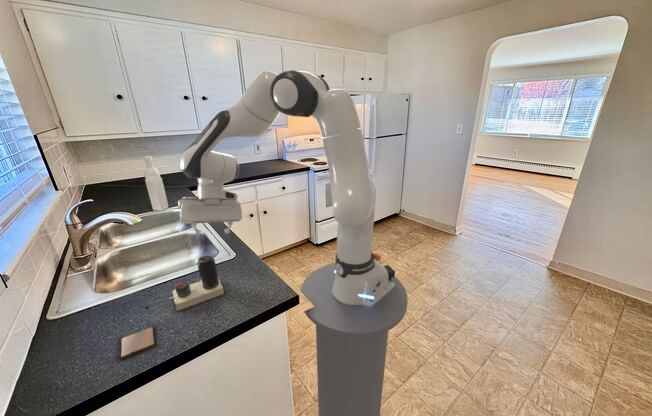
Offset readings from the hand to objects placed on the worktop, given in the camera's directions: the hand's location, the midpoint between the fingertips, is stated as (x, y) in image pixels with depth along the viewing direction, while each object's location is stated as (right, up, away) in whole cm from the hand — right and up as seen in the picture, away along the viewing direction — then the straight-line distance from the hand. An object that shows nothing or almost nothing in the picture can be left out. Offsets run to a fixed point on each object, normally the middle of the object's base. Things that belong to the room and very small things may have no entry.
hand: (213, 234), depth 93 cm
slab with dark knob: (-3, -19, -5) cm, 20 cm away
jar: (+1, -16, -4) cm, 17 cm away
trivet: (-10, -26, -22) cm, 36 cm away
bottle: (-67, +12, +78) cm, 104 cm away
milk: (-61, +9, +69) cm, 92 cm away
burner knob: (-6, -18, -8) cm, 21 cm away
